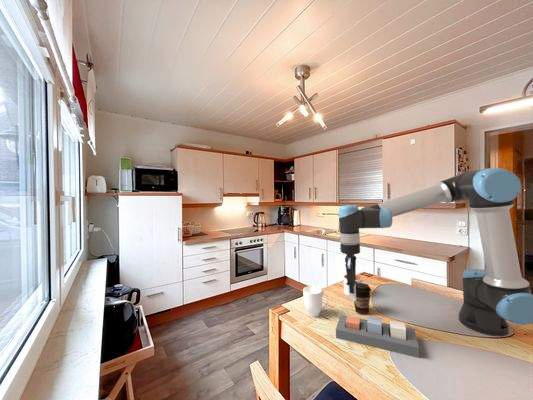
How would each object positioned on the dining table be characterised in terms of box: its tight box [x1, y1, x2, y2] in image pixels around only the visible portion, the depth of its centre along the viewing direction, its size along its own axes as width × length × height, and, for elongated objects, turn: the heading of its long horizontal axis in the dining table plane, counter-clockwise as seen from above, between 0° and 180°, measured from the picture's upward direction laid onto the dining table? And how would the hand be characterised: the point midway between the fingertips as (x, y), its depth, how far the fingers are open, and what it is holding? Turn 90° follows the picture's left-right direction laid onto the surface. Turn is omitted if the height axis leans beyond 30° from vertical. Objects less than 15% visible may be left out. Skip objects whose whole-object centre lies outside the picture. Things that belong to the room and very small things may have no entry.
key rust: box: [346, 315, 361, 330], centre depth 93 cm, size 5×5×5 cm
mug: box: [302, 285, 329, 318], centre depth 109 cm, size 12×9×12 cm
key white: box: [389, 320, 406, 340], centre depth 86 cm, size 5×5×5 cm
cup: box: [343, 274, 363, 297], centre depth 128 cm, size 10×10×10 cm
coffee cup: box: [353, 282, 372, 315], centre depth 109 cm, size 9×8×13 cm
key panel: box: [335, 314, 420, 359], centre depth 90 cm, size 28×12×4 cm, turn 63°
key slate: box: [366, 315, 383, 335], centre depth 90 cm, size 5×5×5 cm
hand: (352, 299), depth 93 cm, fingers closed
